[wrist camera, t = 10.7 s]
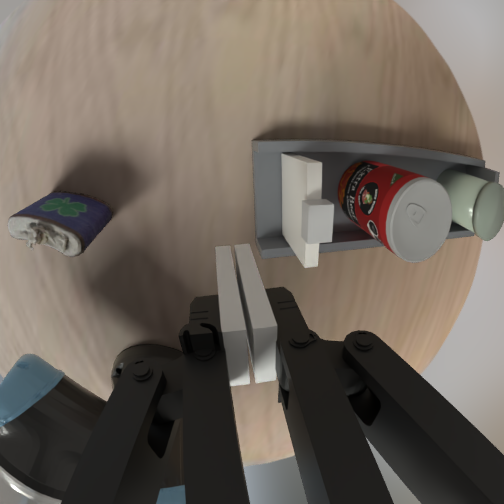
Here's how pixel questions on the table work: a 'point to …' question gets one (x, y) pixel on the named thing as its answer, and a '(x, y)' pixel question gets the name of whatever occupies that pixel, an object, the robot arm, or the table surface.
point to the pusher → (304, 208)
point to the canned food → (397, 208)
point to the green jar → (474, 202)
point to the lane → (333, 167)
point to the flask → (61, 222)
